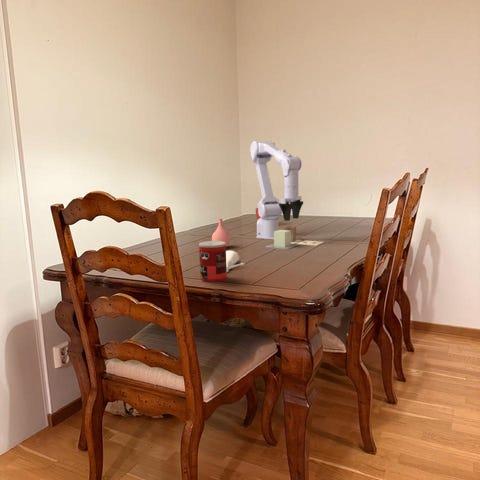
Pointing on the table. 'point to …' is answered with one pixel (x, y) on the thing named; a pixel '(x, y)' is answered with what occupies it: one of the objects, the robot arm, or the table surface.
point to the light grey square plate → (282, 247)
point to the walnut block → (293, 232)
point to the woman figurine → (232, 259)
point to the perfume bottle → (221, 234)
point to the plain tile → (296, 241)
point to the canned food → (212, 261)
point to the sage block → (282, 238)
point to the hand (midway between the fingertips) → (291, 219)
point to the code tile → (310, 242)
